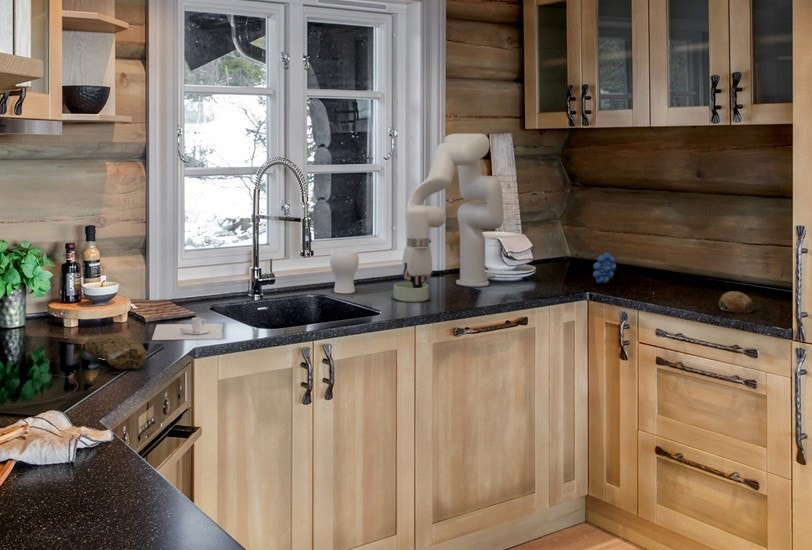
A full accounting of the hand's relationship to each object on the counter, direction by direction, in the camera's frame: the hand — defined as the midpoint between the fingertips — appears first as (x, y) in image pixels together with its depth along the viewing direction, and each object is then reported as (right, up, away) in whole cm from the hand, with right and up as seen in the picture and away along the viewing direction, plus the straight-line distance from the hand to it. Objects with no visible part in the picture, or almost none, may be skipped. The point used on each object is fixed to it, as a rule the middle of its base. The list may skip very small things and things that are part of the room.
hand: (417, 295), depth 294 cm
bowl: (-2, -2, +2) cm, 3 cm away
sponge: (-90, -4, -80) cm, 121 cm away
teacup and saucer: (-75, -4, -46) cm, 88 cm away
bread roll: (+102, -2, -18) cm, 103 cm away
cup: (-24, -2, +17) cm, 30 cm away
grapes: (+77, -1, +33) cm, 84 cm away
